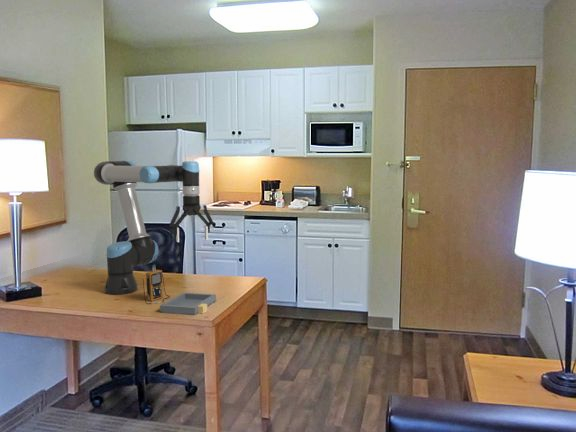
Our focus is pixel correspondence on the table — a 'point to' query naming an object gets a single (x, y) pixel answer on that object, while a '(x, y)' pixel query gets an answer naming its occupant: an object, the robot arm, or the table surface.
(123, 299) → the table surface
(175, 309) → the tray
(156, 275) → the multimeter
